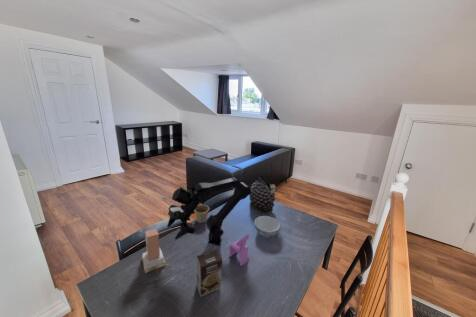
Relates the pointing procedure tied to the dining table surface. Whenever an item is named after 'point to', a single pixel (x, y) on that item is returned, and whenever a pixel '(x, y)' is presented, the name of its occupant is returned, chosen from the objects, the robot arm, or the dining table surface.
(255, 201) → the dark pinecone ornament
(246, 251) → the toy chair
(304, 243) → the dining table surface
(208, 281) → the coffee box
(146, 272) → the bottom slab
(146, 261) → the top slab
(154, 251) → the pillar
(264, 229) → the chinaware
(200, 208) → the flower pot
